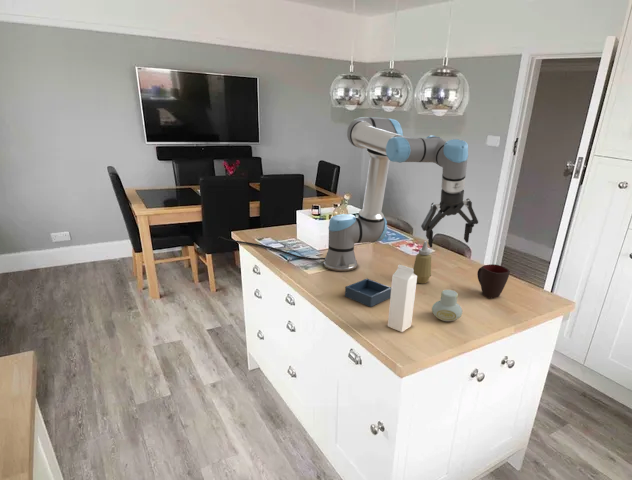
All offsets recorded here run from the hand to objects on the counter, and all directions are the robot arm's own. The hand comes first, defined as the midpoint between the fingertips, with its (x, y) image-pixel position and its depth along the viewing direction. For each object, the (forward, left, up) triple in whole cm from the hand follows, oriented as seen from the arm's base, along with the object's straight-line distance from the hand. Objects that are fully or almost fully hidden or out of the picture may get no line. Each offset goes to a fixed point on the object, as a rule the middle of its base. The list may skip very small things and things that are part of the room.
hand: (448, 243), depth 153 cm
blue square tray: (-23, -16, -25) cm, 37 cm away
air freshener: (+8, -9, -25) cm, 28 cm away
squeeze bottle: (-18, +14, -25) cm, 34 cm away
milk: (0, -27, -25) cm, 37 cm away
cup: (+9, +24, -25) cm, 36 cm away
